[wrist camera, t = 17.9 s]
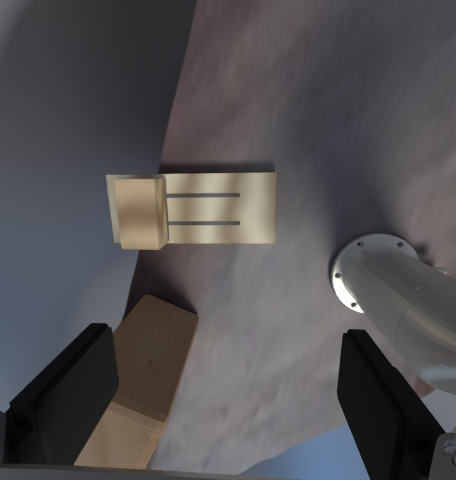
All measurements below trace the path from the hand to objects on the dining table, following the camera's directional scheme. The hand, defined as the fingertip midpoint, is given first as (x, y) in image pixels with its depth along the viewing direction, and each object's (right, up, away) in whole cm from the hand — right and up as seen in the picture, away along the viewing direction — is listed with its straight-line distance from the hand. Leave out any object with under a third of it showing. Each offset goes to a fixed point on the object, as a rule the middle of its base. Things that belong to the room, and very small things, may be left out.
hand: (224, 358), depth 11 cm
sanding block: (-11, +9, +28) cm, 31 cm away
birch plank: (-5, +9, +29) cm, 31 cm away
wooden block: (-11, -10, +35) cm, 38 cm away
